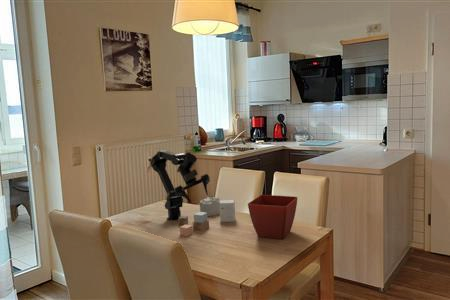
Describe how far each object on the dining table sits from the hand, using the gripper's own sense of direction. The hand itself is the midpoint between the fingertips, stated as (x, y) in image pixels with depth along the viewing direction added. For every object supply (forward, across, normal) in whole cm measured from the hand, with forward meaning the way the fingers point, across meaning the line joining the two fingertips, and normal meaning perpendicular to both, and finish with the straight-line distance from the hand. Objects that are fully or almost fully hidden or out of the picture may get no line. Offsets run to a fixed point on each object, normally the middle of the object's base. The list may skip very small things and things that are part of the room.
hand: (199, 198), depth 200 cm
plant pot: (+33, +24, 0) cm, 41 cm away
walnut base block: (+11, -5, +11) cm, 17 cm away
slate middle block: (+8, -4, +9) cm, 13 cm away
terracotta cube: (+12, -13, +5) cm, 19 cm away
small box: (+11, +11, +20) cm, 25 cm away
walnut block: (+2, -12, +18) cm, 22 cm away
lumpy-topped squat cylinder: (-2, +6, +34) cm, 34 cm away
